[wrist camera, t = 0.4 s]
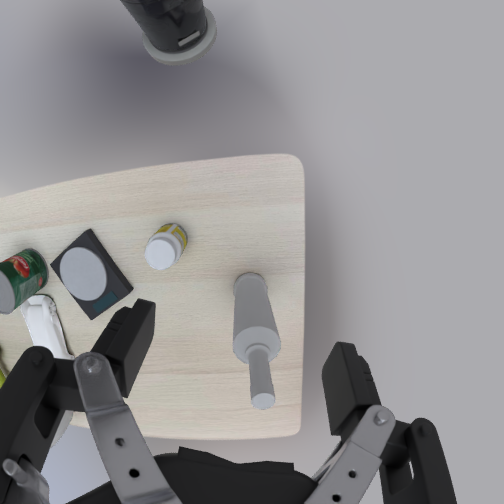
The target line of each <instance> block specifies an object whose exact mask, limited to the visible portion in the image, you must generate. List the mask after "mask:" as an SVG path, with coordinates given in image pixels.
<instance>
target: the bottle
mask: <svg viewBox="0 0 504 504" xmlns="http://www.w3.org/2000/svg"><path fill="white" fill-rule="evenodd" d="M267 294H268V293H267V285H266V283H265V281H264V279H263V278H262V277H261V276H259V275H258V274H255V273H246V274H243V275H241V276H240V277H239V278H238V279H237V280H236V282H235V285H234V296H235V308H234V329H233V352H234V353H235V355H236V357H237V358H238V359H239V360H241V361H242V362H244V363H246V364H249V370H250V383H251V386H250V391H251V404H252V405H253V407H255V408H257V409H267V408H270V407H272V406H273V405H274V403H275V394H274V388H273V384H272V379H271V373H270V367H269V362H270V361H272V360H273V359H274V358H275V357H276V356H277V355H278V353H279V351H280V349H281V341H280V337H279V334H278V330H277V326H276V323H275V319H274V316H273V312H272V309H271V305H270V302H269V298H268V295H267Z"/></svg>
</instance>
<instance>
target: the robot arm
mask: <svg viewBox="0 0 504 504" xmlns="http://www.w3.org/2000/svg"><path fill="white" fill-rule="evenodd" d="M120 1H121V2H122V3H123V5H124V6H125V7H126V9H128V11H129V12H130V14H131V15H132V16H133V18H134V19H135V21H137V23H138V24H139V26H140V27H141V29H142V30H143V31H144V33H145V34H146V35H147V37H148V38H149V40H150V42H151V43H152V45H153V46H154V47H155V48H156V49H157V50H159V51H161V52H163V53H167V54H179V53H183V52H186V51H189V50H191V49H193V48H194V47H196V46H197V45H198V44H199V43H200V42H201V41H202V40H203V39H204V37H205V36H206V33H207V30H208V22H207V18H206V16H205V11H204V6H203V1H202V0H120ZM155 308H156V304H155V303H154V302H151V301H147V300H143V299H140V298H139V299H137V301H136V302H135V304H134V306H133V307H132V308H129V307H123V308H121V309H120V310H118V311H117V312H115V314H114V315H113V317H112V318H111V320H110V322H109V323H108V325H107V326H106V328H105V329H104V331H103V332H102V334H101V335H100V337H99V339H98V340H97V342H96V343H95V345H94V346H93V348H92V350H91V351H90V352H86V353H83V354H81V355H79V356H78V357H77V358H76V359H73V360H70V359H60V358H54V356H53V353H52V352H51V351H50V350H49V349H48V348H46V347H44V346H33V347H30V348H28V349H27V350H25V351H24V353H23V354H22V356H21V357H20V359H19V360H18V361H17V363H16V365H15V366H14V368H13V369H12V371H11V372H10V374H9V375H8V377H7V378H6V380H5V382H4V383H3V385H2V387H1V388H0V504H50V503H49V486H48V483H47V481H46V479H45V478H44V477H43V476H42V475H41V474H40V473H41V470H42V468H43V465H44V462H45V460H46V457H47V454H48V452H49V449H50V447H51V444H52V442H53V439H54V437H55V434H56V432H57V429H58V427H59V425H60V422H61V420H62V418H63V415H64V413H65V411H66V410H69V411H78V412H85V413H86V416H87V420H88V423H89V426H90V429H91V432H92V435H93V437H94V440H95V443H96V446H97V448H98V451H99V453H100V456H101V459H102V461H103V463H104V466H105V468H106V471H107V473H108V475H109V478H110V481H108V482H107V483H105V484H103V485H101V486H99V487H97V488H96V489H94V490H92V491H90V492H88V493H86V494H84V495H82V496H80V497H78V498H76V499H74V500H72V501H70V502H68V503H66V504H359V502H360V500H361V499H362V497H363V495H364V494H365V492H366V490H367V488H368V487H369V485H370V483H371V481H372V480H373V478H374V476H375V474H376V472H377V470H378V469H379V472H380V479H381V486H382V494H383V502H384V504H457V501H456V497H455V493H454V489H453V485H452V481H451V477H450V474H449V470H448V467H447V463H446V459H445V456H444V452H443V449H442V446H441V443H440V440H439V436H438V433H437V430H436V428H435V426H434V425H433V423H432V422H430V421H429V420H427V419H425V418H417V419H415V420H414V421H413V422H412V423H411V424H408V423H405V422H401V421H398V420H395V417H394V415H393V413H392V412H391V411H390V410H389V409H388V408H386V407H384V406H382V405H381V402H380V399H379V396H378V392H377V389H376V386H375V383H374V382H373V377H372V375H371V371H370V368H369V365H368V363H367V362H366V361H365V360H364V358H363V357H362V356H358V354H357V351H356V348H355V345H354V344H351V343H345V342H337V343H336V344H335V345H334V347H333V349H332V351H331V353H330V355H329V357H328V359H327V360H326V362H325V364H324V366H323V369H322V381H323V387H324V393H325V399H326V405H327V412H328V417H329V423H330V431H331V435H336V436H341V441H340V442H339V443H338V444H337V446H336V447H335V449H334V450H333V451H332V453H331V454H330V455H329V457H328V458H327V459H326V461H325V462H324V464H323V465H322V466H321V467H320V469H319V470H318V471H317V472H316V474H314V476H313V477H312V478H310V477H308V476H307V475H305V474H303V473H300V472H298V471H295V470H294V463H286V462H273V461H262V462H253V463H242V464H237V463H233V462H231V461H228V460H226V459H223V458H220V457H218V456H215V455H213V454H210V453H208V452H202V451H198V450H193V449H189V448H184V447H179V451H178V453H165V454H160V455H156V456H152V454H151V452H150V450H149V448H148V446H147V444H146V442H145V440H144V438H143V436H142V434H141V432H140V430H139V428H138V426H137V423H136V421H135V419H134V417H133V414H132V412H131V410H130V408H129V406H128V405H127V404H125V402H124V400H123V398H122V397H124V398H128V396H129V393H130V391H131V389H132V386H133V384H134V381H135V379H136V377H137V374H138V372H139V370H140V367H141V365H142V363H143V360H144V358H145V356H146V354H147V351H148V349H149V347H150V344H151V342H152V339H153V335H154V326H155ZM410 461H411V464H412V468H413V473H414V478H413V479H412V474H411V469H410V465H409V462H410Z"/></svg>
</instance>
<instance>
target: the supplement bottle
mask: <svg viewBox="0 0 504 504" xmlns="http://www.w3.org/2000/svg"><path fill="white" fill-rule="evenodd" d="M186 245H187V234H186V232H185V230H184V229H183V228H182V227H181V226H179V225H177V224H166V225H164V226H162V227H161V228H160V229H159V230H158V231H157V232H156V233H155V234H154V235H153V236H152V237H151V238H150V239H149V241H148V243H147V247H146V249H145V258H146V261H147V263H148V264H149V265H150V266H151V267H153V268H154V269H157V270H165V269H168V268H169V267H171V266H172V265H173V264H175V263H176V262H177V261H178V260H179V258H180V257H181V255H182V253H183V251H184V249H185V247H186Z"/></svg>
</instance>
